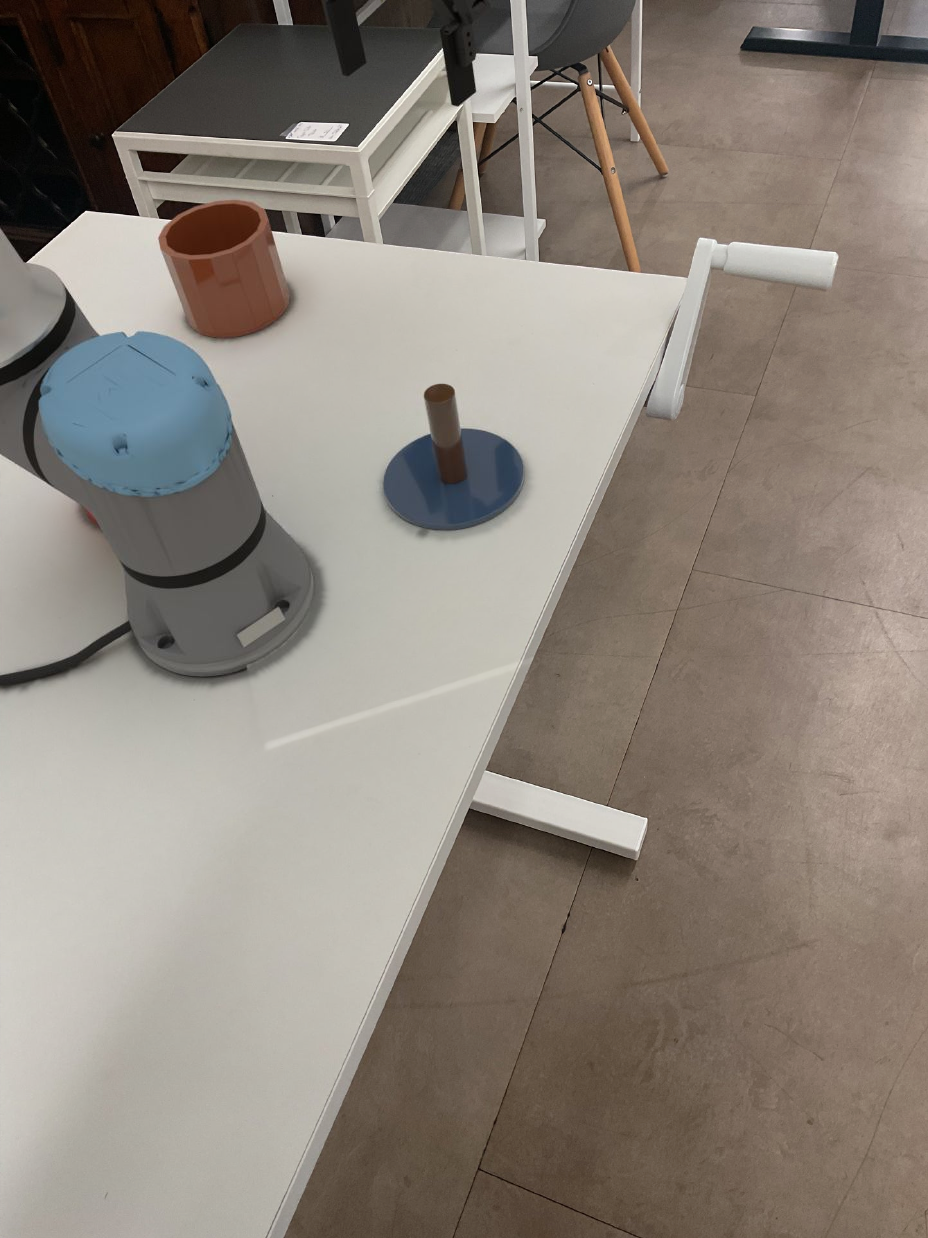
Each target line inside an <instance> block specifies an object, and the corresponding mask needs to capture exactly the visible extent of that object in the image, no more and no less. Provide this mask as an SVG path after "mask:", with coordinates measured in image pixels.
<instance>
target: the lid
mask: <svg viewBox="0 0 928 1238" xmlns="http://www.w3.org/2000/svg"><path fill="white" fill-rule="evenodd" d="M423 400H424V405H425V406H424V407H425V411H426V416H427V423H428V426H429V432H430V433H428V434H425V435H423V436H421V437H418V438H416V439H414V440H413V441H411V442H409V443H408V444H406V445H405V446H404V447H402V448H401V449H400V450H399V451H398V452H396V454H395V455H394V456H393V457H392V458H391V460H390V461H389V463H388V465H387V467H386V469H385V471H384V475H383V482H382V485H383V492H384V496H385V499H386V502H387V504H388V506H389V507H390V508H391V510H392V511H393V512H394V513H395V514H396V515H397V516H398V517H400V518H401V519H402V520H404V521H406V522H408V523H409V524H412V525H415V526H417V527H421V528H425V529H428V530H439V531H449V530H450V531H452V530H460V529H466V528H471V527H475V526H477V525H480V524H482V523H483V524H484V523H485V522H488V521H490V520H491V519H494V518H496V517H497V516H498V515H500V514H501V513H503V512H504V511H505V510H507V509H508V508H509V507H510V506H512V504H513V503H514V501H515V500H516V499H517V497H518V496H519V494H520V492H521V490H522V489H523V485H524V482H525V481H524V479H525V466H524V463H523V459H522V456H521V454H520V452H519V451H518V449H516V447H515V446H514V445H513V444H512V443H511V442H509V441H508V440H507V439H505V438H504V437H502V436H500V435H498V434H496V433H493V432H490V431H488V430H487V431H486V430H482V429H477V428H470V427H469V428H466V427H465V428H463V427H462V426H461V422H460V416H459V415H460V414H459V408H458V403H457V395H456V390H455V389H454V387H453V386H452V385H450V384H448V383H436V384H435V383H434V384H433V385H430V386H429V387H427V388H426V389H425V390H424V392H423Z"/></svg>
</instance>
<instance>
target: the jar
mask: <svg viewBox="0 0 928 1238" xmlns="http://www.w3.org/2000/svg"><path fill="white" fill-rule="evenodd" d="M157 239H158V244H159V249H160V252H161V254H162V258H163V259H164V262H165V265H166V267H167V270H168V273H169V276H170V278H171V281H172V284H173V286H174V289H175V291H176V294H177V297H178V299H179V301H180V304H181V307H182V309H183V313H184V315H185V317H186V320H187V322H188V324H189V325H190V327H191V328H192V329H193V330H194V331H195V332H197V333H198V334H201V335H203V336H207V337H210V338H217V339H229V338H230V339H231V338H236V337H243V336H247V335H249V334H253V333H256V332H258V331H261V330H263V329H265V328H267V327H268V326H270V325H273V323H274V322H276V321H277V320H278V319H279V318H281V316H282V315H284V313H285V312H286V311H287V310H288V307H289V304H290V300H291V299H290V298H291V296H290V294H291V293H290V290H289V287H288V283H287V279H286V276H285V273H284V270H283V265H282V262H281V258H280V255H279V252H278V249H277V245H276V241H275V238H274V235H273V230H272V228H271V224H270V220H269V218H268V215H267V212H266V209H264V208H263V207H261V206H259V205H258V204H256V203H254V202H253V201H247V200H240V199H228V200H215V201H210V202H207V203H204V204H199V205H196V206H193V207H191V208H189V209H187V210H185V211H183V212H181V213H179V214H177V215H176V216H175V217H173V218H172V219H171V220H170V221H169V222H168V223H166V224H165V225H164V226H163V228H162V230H161V232H160V233H159V236H158V237H157Z"/></svg>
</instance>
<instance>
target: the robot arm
mask: <svg viewBox="0 0 928 1238" xmlns="http://www.w3.org/2000/svg"><path fill="white" fill-rule="evenodd" d="M429 1H430V3H431V4H432V6H433V7H434V9H435V10H436V11H437V13H438V15H439V16H440V17H441V19H442V20H443V22H444V24H445V25H444V26H442V27H441V28H440V29H439V34H440V41H441V48H442V54H443V60H444V65H445V72H446V79H447V85H448V91H449V97H450V98H449V99H450V105H451V106H454V107H457V108H458V107H460V106H461V105H463V103H465V102H466V101H467V100H468V99H470V98H471V97H472V96H473V95H474V94H476V93H477V87H476V86H477V85H476V79H475V71H474V64H473V62H474V61H475V60H476V57H477V48H476V43H475V42H476V40H475V34H474V33H475V32H474V26H473V25H474V24H475V23H476V22H478V21H479V20H480V19H482V18H483V17H485V15H487V14H488V13H489V12H491V3H490V1H489V0H429ZM321 4H322V8H323V12H324V16H325V21H326V24H327V29H328V30H329V33H330V34H331V35H332V37H333V41H334V45H335V50H336V53H337V58H338V61H339V66H340V70H341V74H342V76H345V77H350V76H351V75H352V74H354V73H356V71H358V70H359V69H360V68H362V67H363V66H365V65H366V64H367V63H368V62H367V58H366V54H365V53H366V52H365V48H364V44H363V40H362V35H361V30H360V26H359V21H358V17H357V12H356V7H355V5H354V0H321ZM454 6H455V8H456V9H454ZM0 455H1V456H3V457H4V458H6V459H7V460H9V461H11V462H12V463H13V464H15V465H17V467H20V468H21V469H23V470H25V471H27V472H28V473H30V474H32V475H33V476H35V477H36V478H38V479H40V480H41V481H43V482H44V483H46V484H47V485H49V486H50V487H52V488H53V489H55V490H56V491H58V492H60V493H62V494H63V495H64V496H66V497H67V498H69V499H70V500H72V501H74V502H75V503H76V504H79V505H80V506H81V507H82V506H83V507H84V508H85V509H87V510H88V511H89V512H90V513H91V515H92V516H93V517H94V518H95V520H96V521H97V522H98V524H97V525H98V526H99V527H100V529H101V531H102V533H103V535H104V537H105V538H106V540H107V542H108V544H109V545H110V547H111V548H112V551H113V552H114V554H115V556H116V557H117V560H118V561H119V563H120V565H121V566H122V568H123V576H124V587H125V588H124V589H125V599H126V611H127V618H128V620H127V621H126V622H124V623H122V624H120V625H119V626H117V627H115V628H113V629H111V630H110V631H108V632H106V633H105V634H103V635H102V636H100V637H99V638H97V639H96V640H94V641H92V642H91V643H90V644H89V645H87V646H86V647H84V648H83V649H82V650H80V651H77V652H76V653H75V654H73V655H70V656H69V657H65V658H63V659H61V660H58V661H55V662H52V663H48V664H46V665H42V666H39V667H34V668H30V669H26V670H20V671H14V672H10V673H9V672H8V673H5V674H4V673H3V674H0V686H5V685H9V684H10V685H11V684H15V683H20V682H26V681H30V680H34V679H35V680H36V679H39V678H42V677H46V676H51V675H53V674H56V673H59V672H62V671H64V670H67V669H70V668H72V667H75V666H77V665H79V664H81V663H83V662H84V661H86V660H88V659H89V658H91V657H92V656H93V655H95V654H96V653H98V652H99V651H101V650H102V649H104V648H105V647H107V646H108V645H110V644H112V643H113V642H115V641H117V640H119V639H120V638H122V637H123V636H125V635H126V634H128V633H130V632H132V634H133V636H134V638H135V639H136V641H137V643H138V645H139V646H140V648H141V650H142V651H143V653H144V654H145V655H146V656H147V657H148V658H149V659H150V660H151V661H152V662H153V663H155V664H156V665H158V666H159V667H161V668H163V669H165V670H167V671H170V672H173V673H175V674H180V675H183V676H189V677H216V676H223V675H229V674H233V673H236V672H239V671H242V670H245V669H247V668H248V667H247V666H248V665H250V664H253V663H255V662H258V661H259V660H261V659H263V658H265V657H267V656H269V655H270V654H271V653H273V652H275V651H276V650H277V649H279V648H280V647H281V646H282V645H284V644H285V643H286V642H287V641H288V640H289V639H290V638H291V637H292V636H293V635H294V634H295V632H297V630H298V629H299V628H300V626H301V625H302V623H303V622H304V620H305V618H306V617H307V615H308V613H309V611H310V608H311V606H312V602H313V597H314V593H315V592H314V590H315V583H314V577H313V571H312V569H311V566H310V563H309V561H308V558H307V555H306V554H305V552H304V551H303V550H302V548H301V546H300V545H299V544H298V543H297V541H296V540H295V539H294V537H292V536H291V535H290V534H289V533H288V532H287V531H286V530H285V529H284V528H283V527H282V526H281V524H279V522H278V521H277V520H276V519H275V518H274V517H273V516H272V515H271V514H270V513H269V512H268V511H267V510H266V509H265V506H264V504H263V501H262V499H261V496H260V493H259V490H258V488H257V484H256V481H255V479H254V476H253V474H252V471H251V469H250V465H249V463H248V460H247V458H246V457H247V456H246V454H245V452H244V449H243V447H242V444H241V442H240V438H239V435H238V433H237V430H236V428H235V425H234V422H233V418H232V411H231V408H230V405H229V402H228V400H227V398H226V396H225V394H224V391H223V390H222V388H221V386H220V385H219V384H218V383H217V381H216V379H215V376H214V375H213V372H212V370H211V369H210V367H209V366H208V364H207V362H206V361H205V360H204V359H203V358H202V357H201V355H199V354H198V352H197V351H195V350H194V349H193V348H191V347H190V346H188V345H187V344H185V343H184V342H182V341H180V340H178V339H177V338H174V337H171V336H168V335H165V334H162V333H157V332H152V331H144V330H143V331H141V330H138V331H136V332H135V333H134V334H132V335H131V336H127V334H126V333H125V332H124V331H119V332H111V333H105V334H101V335H100V333H98V331H96V329H95V328H94V327H93V325H92V324H91V323H90V321H89V320H88V318H87V316H86V315H85V314H84V312H83V310H81V308H80V306H79V304H78V303H77V301H76V300H75V299H74V297H73V295H72V294H71V292H70V291H69V289H68V288H67V287H66V285H65V284H64V282H63V280H62V279H61V278H60V276H59V275H58V273H56V272H55V271H54V270H53V269H51V268H49V267H46V266H45V265H44V266H43V265H41V264H36V263H31V262H24V261H23V259H22V258H21V256H20V255H19V253H18V251H17V250H16V249H15V247H14V246H13V245H12V243H11V241H10V240H9V238H7V236H6V234H5V233H4V231H3V230H2V229H1V227H0ZM83 507H82V508H83Z"/></svg>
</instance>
